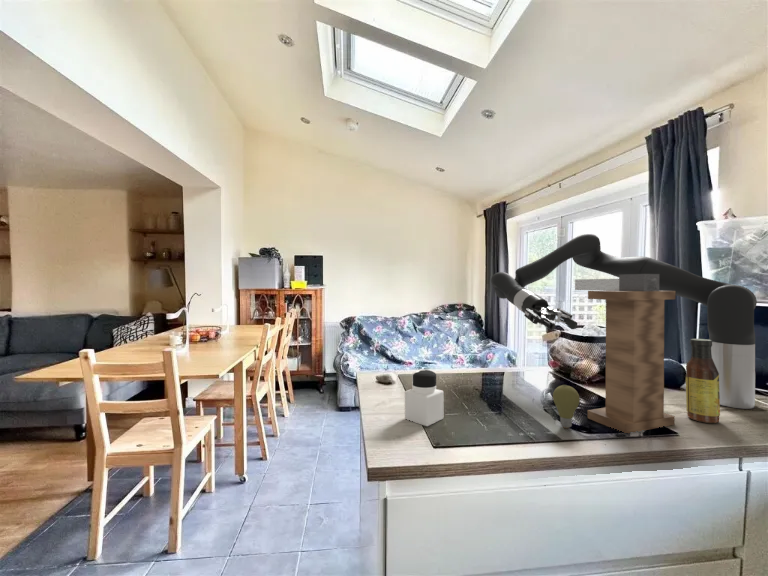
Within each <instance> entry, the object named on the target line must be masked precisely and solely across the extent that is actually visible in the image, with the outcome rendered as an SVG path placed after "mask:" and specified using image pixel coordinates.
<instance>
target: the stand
mask: <svg viewBox="0 0 768 576" xmlns="http://www.w3.org/2000/svg"><path fill="white" fill-rule="evenodd" d="M587 299H588V300H605V406H604V407H601V408H593V409H587V419H589V420H592V421H594V422H596V423H598V424H601V425H602V426H606V427H608V428H610V427H611V428H610V429H613V428H614V429H613V430H615V429H617V430H616V431H618V430H619V431H618V432H620V431H622V432H624V433H623V434H625V433H628V434H631V433H630V432H633V433H637V432H636V431H638V432H642V430H644V431H647V430H653V429H659V427H660V428H664V427H663V426H665V427H669V426H674V425H675V424H676V423H675V422H676V421H675V420H676V419H675V417H676V416H674V415H671V414H668V413H665V400H664V399H665V301H666V300H676V295H675V291H600V290H587ZM622 432H621V433H622Z"/></svg>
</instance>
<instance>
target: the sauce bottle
mask: <svg viewBox="0 0 768 576" xmlns="http://www.w3.org/2000/svg"><path fill="white" fill-rule="evenodd" d="M689 341H690V342H689V343H690V346H691V353H690V355H691V356H690V359H689V360H688V362H686V366H685V373H686V374H685V399H686V400H685V401H686V402H685V403H686V406H685V407H686V414H687V417H688V418H689V419H691V420H693V421H696V422H699V423H705V424H717V423H719V422H720V416H721V405H720V395H719V391H720V390H719V373H718V370H717V368H716V366H715V364H714V361H713V359H712V354H711V347H712V341H711V340H709V338H708V339H705V338H690V340H689Z"/></svg>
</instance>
